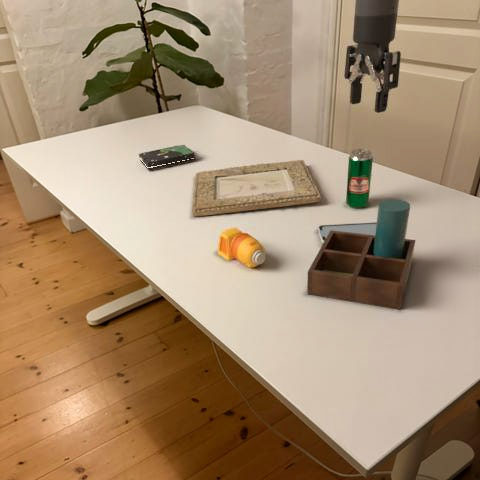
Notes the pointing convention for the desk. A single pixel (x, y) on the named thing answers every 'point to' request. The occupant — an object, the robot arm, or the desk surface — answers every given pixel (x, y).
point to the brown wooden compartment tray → (359, 271)
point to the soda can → (359, 178)
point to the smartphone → (347, 229)
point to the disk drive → (167, 157)
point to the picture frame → (253, 188)
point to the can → (391, 228)
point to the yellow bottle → (241, 247)
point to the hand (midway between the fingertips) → (367, 107)
